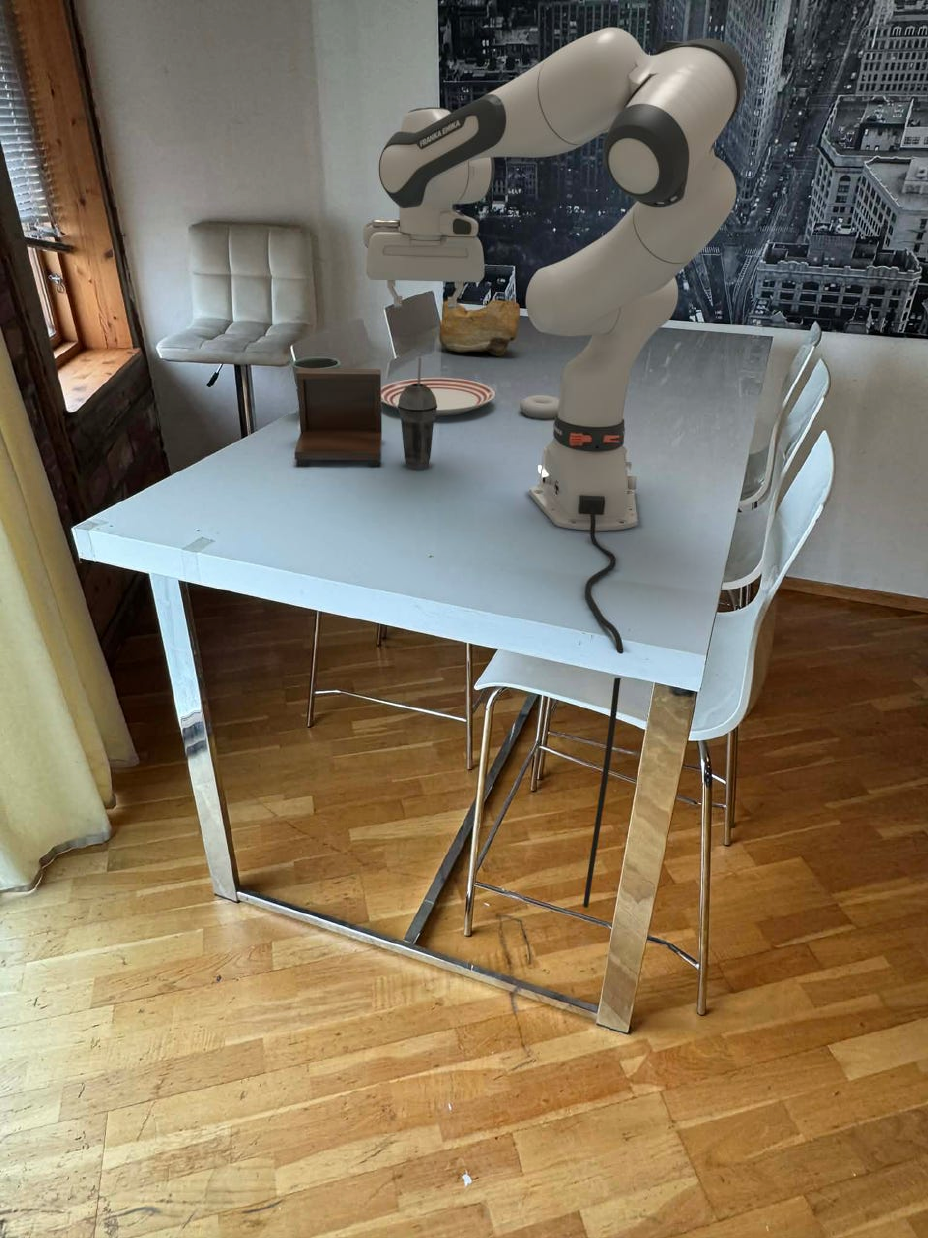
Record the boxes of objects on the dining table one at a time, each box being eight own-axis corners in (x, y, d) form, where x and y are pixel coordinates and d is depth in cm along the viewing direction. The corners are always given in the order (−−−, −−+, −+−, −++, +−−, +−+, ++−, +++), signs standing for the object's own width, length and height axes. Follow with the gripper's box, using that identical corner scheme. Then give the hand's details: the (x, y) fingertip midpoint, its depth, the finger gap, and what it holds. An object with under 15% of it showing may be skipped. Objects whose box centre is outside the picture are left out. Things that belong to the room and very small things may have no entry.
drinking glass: (351, 415, 188) (349, 360, 182) (323, 427, 180) (319, 370, 174) (315, 407, 192) (312, 354, 186) (286, 418, 184) (281, 363, 178)
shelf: (380, 467, 160) (379, 389, 153) (295, 466, 159) (289, 389, 152) (382, 441, 173) (380, 369, 166) (303, 441, 172) (298, 368, 165)
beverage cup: (392, 469, 160) (391, 361, 149) (406, 457, 166) (405, 352, 156) (429, 474, 158) (430, 365, 148) (441, 461, 164) (443, 356, 154)
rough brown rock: (529, 352, 249) (532, 298, 242) (513, 359, 234) (516, 302, 228) (455, 346, 255) (456, 293, 249) (435, 353, 241) (436, 297, 235)
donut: (516, 418, 190) (561, 422, 188) (517, 403, 188) (562, 406, 186) (522, 406, 198) (565, 409, 196) (523, 391, 196) (566, 394, 195)
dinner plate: (359, 416, 188) (359, 401, 186) (396, 384, 211) (396, 371, 209) (480, 428, 182) (480, 413, 181) (504, 395, 205) (505, 381, 204)
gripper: (362, 221, 137) (364, 309, 145) (487, 224, 139) (483, 312, 146) (363, 217, 143) (366, 302, 150) (484, 220, 144) (480, 305, 151)
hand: (425, 307), depth 148 cm, fingers open, 8 cm apart
